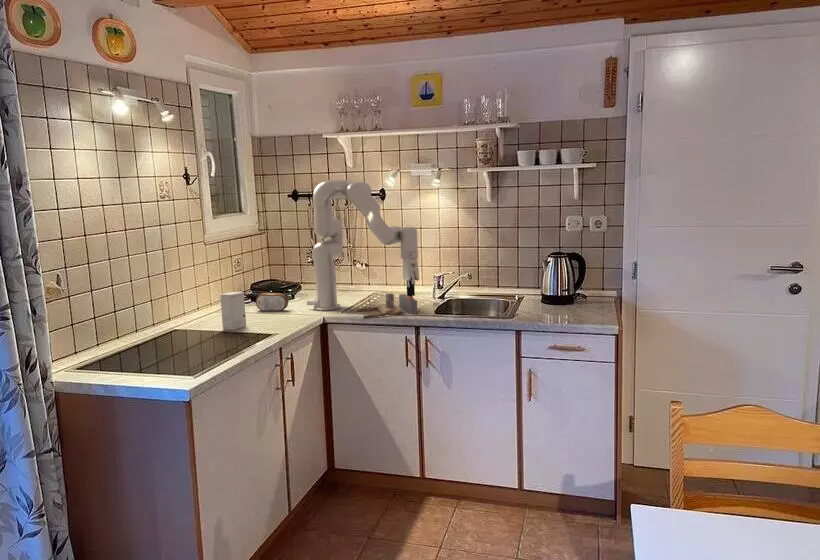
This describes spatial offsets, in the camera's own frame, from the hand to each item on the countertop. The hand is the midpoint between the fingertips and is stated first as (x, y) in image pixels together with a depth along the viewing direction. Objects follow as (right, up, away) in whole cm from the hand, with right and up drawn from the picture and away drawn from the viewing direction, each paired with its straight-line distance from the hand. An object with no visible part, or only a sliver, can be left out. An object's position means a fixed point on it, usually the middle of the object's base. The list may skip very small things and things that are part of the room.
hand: (410, 295), depth 283 cm
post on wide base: (-9, -8, +3) cm, 12 cm away
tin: (-65, -8, +13) cm, 67 cm away
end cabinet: (-1, -7, +5) cm, 9 cm away
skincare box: (-74, -13, -19) cm, 77 cm away
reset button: (0, -4, +1) cm, 4 cm away
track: (-14, -8, +1) cm, 16 cm away
